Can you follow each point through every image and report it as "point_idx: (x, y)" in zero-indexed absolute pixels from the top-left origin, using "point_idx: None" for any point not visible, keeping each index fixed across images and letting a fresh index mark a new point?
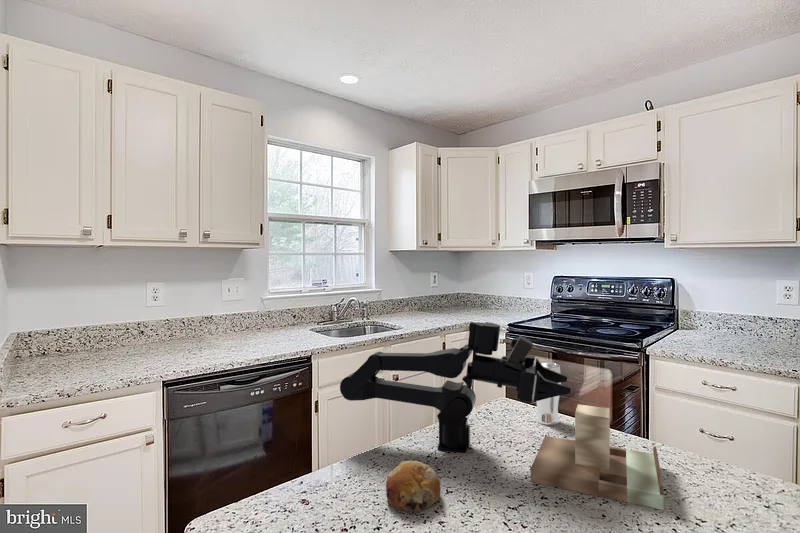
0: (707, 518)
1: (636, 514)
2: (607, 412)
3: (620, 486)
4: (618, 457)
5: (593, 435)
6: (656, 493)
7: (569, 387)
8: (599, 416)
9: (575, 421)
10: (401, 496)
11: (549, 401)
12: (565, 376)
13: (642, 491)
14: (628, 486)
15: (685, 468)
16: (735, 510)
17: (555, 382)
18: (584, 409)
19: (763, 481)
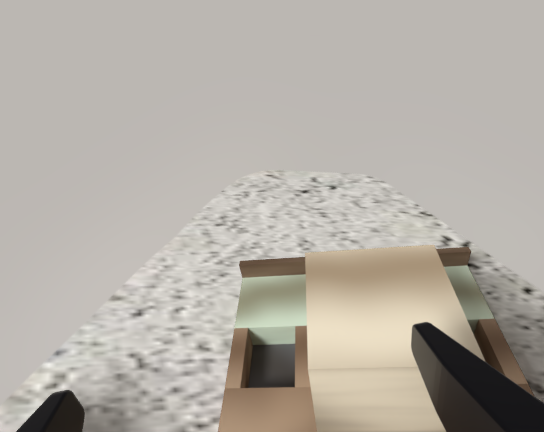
0: (431, 234)
1: (528, 322)
2: (365, 253)
3: (500, 331)
4: (304, 343)
5: None
6: (467, 270)
7: (421, 326)
8: (444, 270)
9: None
10: None
11: None
12: (62, 399)
13: (480, 291)
14: (482, 316)
15: (238, 253)
16: (372, 210)
17: (507, 422)
18: (382, 330)
19: (248, 186)
